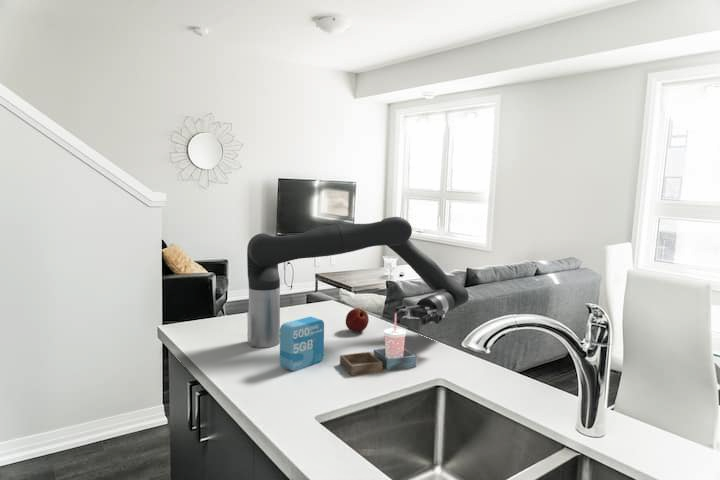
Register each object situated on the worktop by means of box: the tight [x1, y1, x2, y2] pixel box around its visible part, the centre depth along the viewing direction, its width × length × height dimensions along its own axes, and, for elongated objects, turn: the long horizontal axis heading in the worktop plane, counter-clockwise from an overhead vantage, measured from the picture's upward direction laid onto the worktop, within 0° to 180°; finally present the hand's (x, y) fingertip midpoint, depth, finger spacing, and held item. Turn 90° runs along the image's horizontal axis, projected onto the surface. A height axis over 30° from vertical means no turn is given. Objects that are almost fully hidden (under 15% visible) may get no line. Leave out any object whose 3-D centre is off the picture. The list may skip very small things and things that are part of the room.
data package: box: [279, 316, 325, 372], centre depth 131 cm, size 12×4×12 cm, turn 138°
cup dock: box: [339, 347, 417, 377], centre depth 132 cm, size 19×9×3 cm, turn 112°
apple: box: [345, 307, 369, 333], centre depth 162 cm, size 7×8×8 cm
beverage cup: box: [383, 312, 407, 359], centre depth 134 cm, size 6×6×14 cm
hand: (408, 319), depth 139 cm, fingers open, 8 cm apart
